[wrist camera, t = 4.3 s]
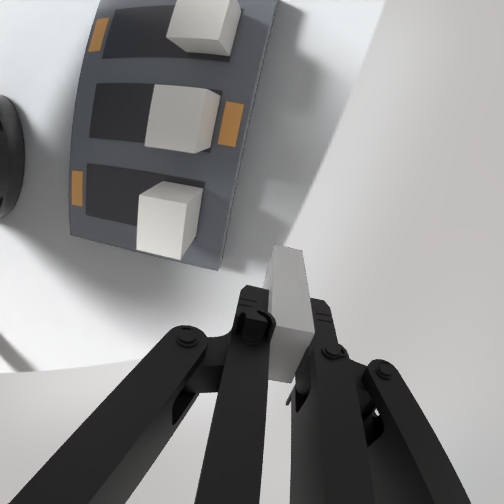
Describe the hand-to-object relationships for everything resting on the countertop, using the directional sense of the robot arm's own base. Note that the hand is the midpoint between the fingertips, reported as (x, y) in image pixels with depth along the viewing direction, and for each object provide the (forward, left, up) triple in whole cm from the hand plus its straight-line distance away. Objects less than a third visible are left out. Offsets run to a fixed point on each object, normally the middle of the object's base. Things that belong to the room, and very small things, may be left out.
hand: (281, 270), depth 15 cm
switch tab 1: (-7, +13, -6) cm, 16 cm away
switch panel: (-11, +7, -8) cm, 15 cm away
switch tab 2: (-7, +7, -6) cm, 11 cm away
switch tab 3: (-7, 0, -6) cm, 9 cm away
